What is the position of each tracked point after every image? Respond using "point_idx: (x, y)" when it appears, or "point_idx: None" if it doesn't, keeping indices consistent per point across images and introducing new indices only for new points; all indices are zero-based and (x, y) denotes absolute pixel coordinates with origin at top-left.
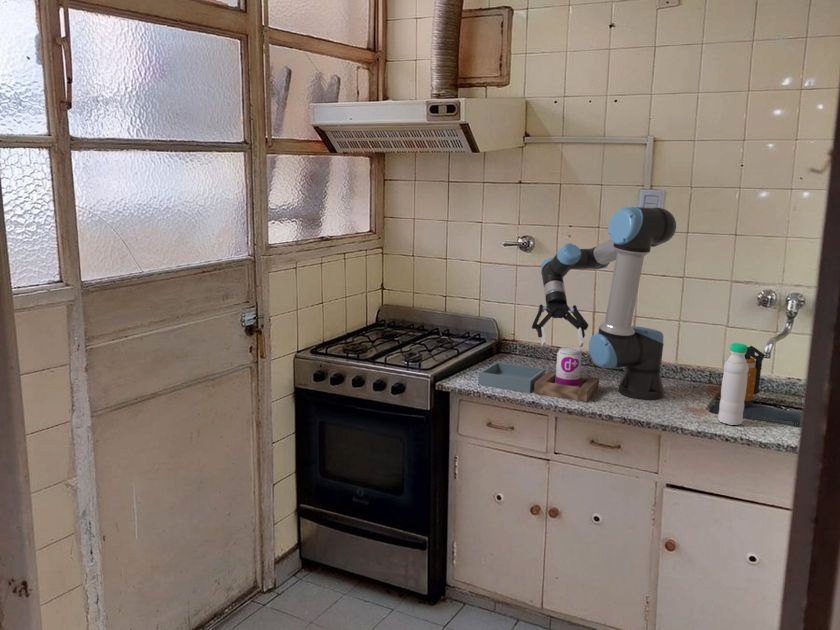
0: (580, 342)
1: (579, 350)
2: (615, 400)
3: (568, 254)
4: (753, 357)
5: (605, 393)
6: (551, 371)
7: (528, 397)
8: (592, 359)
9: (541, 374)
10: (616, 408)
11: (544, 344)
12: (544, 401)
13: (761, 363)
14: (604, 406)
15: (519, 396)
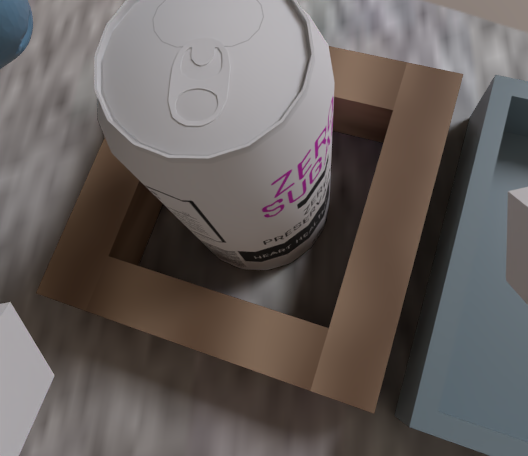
0: (15, 363)
1: (100, 82)
2: (33, 123)
3: None
4: None
5: (53, 230)
6: (359, 402)
7: (468, 45)
8: (31, 12)
9: (432, 317)
10: (60, 11)
11: (513, 235)
12: (381, 9)
13: None
14: (106, 21)
15: (518, 48)
